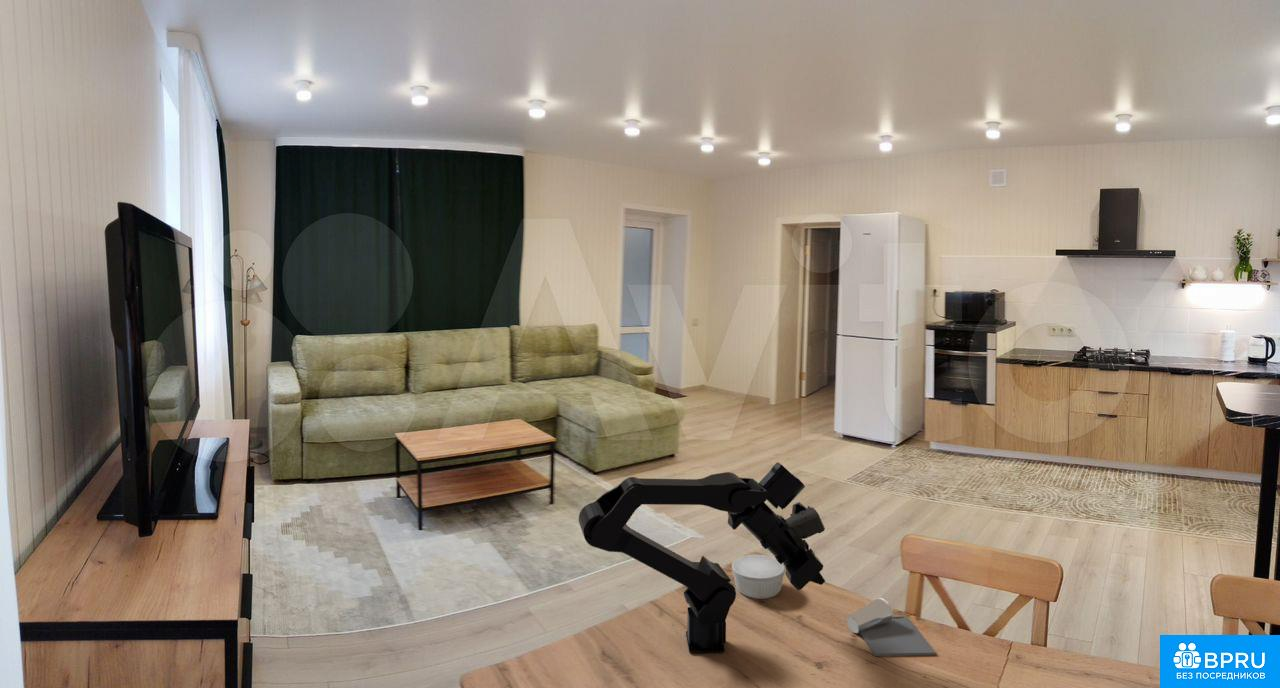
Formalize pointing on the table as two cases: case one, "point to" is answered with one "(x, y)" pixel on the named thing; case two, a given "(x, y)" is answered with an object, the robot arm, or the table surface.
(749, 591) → the ramekin
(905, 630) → the mat
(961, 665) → the table surface
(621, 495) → the robot arm
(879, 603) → the milkshake
